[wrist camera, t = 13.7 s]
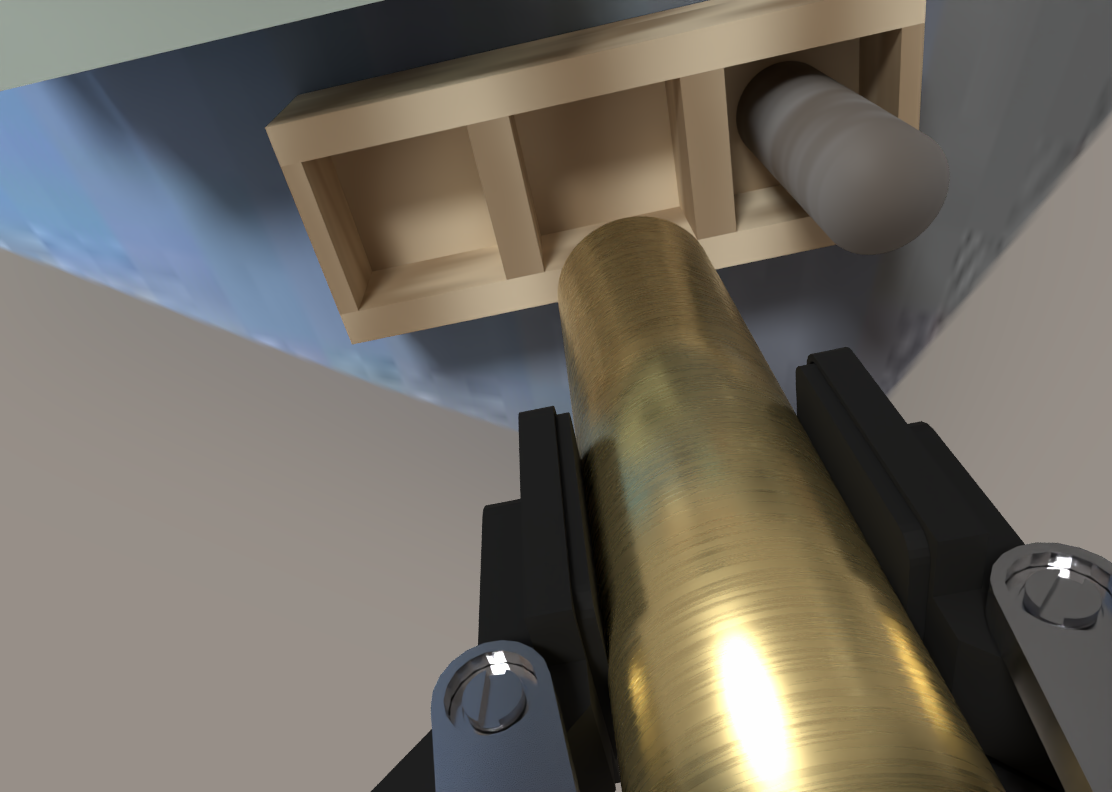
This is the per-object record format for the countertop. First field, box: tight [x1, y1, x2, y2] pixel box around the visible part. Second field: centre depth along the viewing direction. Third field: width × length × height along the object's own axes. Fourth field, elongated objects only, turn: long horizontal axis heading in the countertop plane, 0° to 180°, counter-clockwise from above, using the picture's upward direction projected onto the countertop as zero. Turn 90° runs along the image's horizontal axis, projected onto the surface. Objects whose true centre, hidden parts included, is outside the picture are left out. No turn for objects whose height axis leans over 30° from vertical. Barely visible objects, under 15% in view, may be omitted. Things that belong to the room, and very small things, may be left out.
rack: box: [265, 0, 950, 344], centre depth 22 cm, size 18×7×9 cm, turn 102°
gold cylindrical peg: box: [558, 216, 1006, 792], centre depth 12 cm, size 3×3×13 cm
